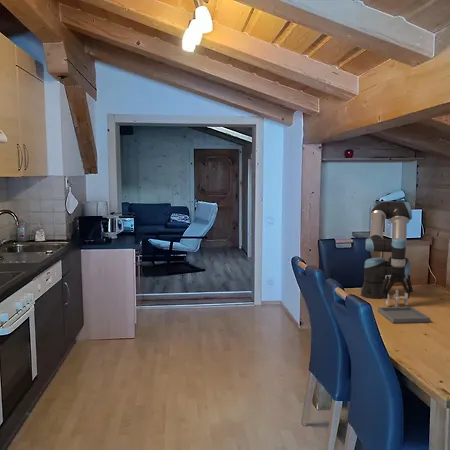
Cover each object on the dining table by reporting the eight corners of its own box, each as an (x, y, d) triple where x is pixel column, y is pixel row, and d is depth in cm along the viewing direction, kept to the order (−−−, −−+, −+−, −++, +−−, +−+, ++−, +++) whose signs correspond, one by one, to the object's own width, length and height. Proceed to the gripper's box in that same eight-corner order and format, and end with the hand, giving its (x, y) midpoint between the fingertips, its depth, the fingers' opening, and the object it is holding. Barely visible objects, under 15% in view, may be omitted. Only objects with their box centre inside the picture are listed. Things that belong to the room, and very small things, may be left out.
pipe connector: (407, 309, 256) (408, 292, 255) (388, 308, 258) (389, 291, 257) (404, 304, 266) (404, 287, 265) (386, 303, 268) (386, 286, 267)
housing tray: (377, 311, 253) (377, 307, 252) (411, 311, 254) (411, 306, 253) (393, 323, 233) (393, 318, 232) (429, 322, 234) (430, 317, 234)
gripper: (381, 267, 255) (379, 306, 258) (420, 266, 257) (419, 305, 259) (375, 264, 263) (374, 302, 265) (414, 264, 264) (412, 302, 267)
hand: (396, 304), depth 262 cm, fingers closed on pipe connector, 10 cm apart
